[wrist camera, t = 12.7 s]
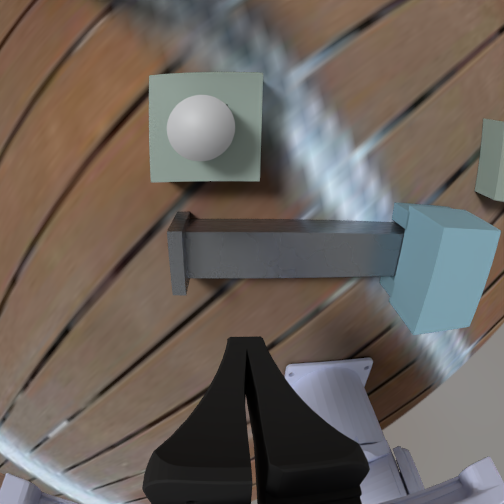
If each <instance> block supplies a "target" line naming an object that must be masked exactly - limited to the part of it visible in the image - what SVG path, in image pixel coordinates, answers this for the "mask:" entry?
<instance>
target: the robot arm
mask: <svg viewBox="0 0 504 504" xmlns="http://www.w3.org/2000/svg"><path fill="white" fill-rule="evenodd" d="M372 364H373V360H372V358H369V357H368V358H359V359H349V360H339V361H327V362H314V363H298V364H289V365H288V366H287V367H286V370H285V377H284V376H283V375H282V373H281V372H280V370H279V368H278V367H277V365H276V364H275V362H274V360H273V359H272V357H271V355H270V353H269V351H268V349H267V347H266V345H265V343H264V340H263V338H262V337H230V338H228V339H227V346H226V350H225V353H224V356H223V359H222V361H221V364H220V366H219V369H218V371H217V373H216V375H215V377H214V379H213V381H212V383H211V385H210V387H209V388H208V390H207V392H206V393H205V395H204V397H203V398H202V400H201V401H200V403H199V404H198V405H197V407H196V408H195V409H194V411H193V412H192V413H191V415H190V416H189V417H188V418H187V420H186V421H185V422H184V423H183V424H182V425H181V426H180V427H179V428H178V429H177V430H176V431H175V433H174V434H173V435H172V436H171V437H169V438H168V439H167V440H166V441H165V442H164V443H163V444H162V445H160V446H159V447H158V448H157V449H156V450H155V451H154V452H153V454H152V456H151V458H150V460H149V462H148V465H147V468H146V471H145V474H144V481H143V487H142V489H143V492H144V493H145V495H146V496H147V498H148V499H149V501H150V502H151V504H251V495H252V471H251V461H250V453H249V444H248V434H247V423H246V411H245V397H246V398H247V404H248V411H249V417H250V422H251V428H252V434H253V441H254V453H255V469H256V485H257V503H258V504H503V503H504V482H503V480H502V479H501V476H500V474H499V472H498V471H497V469H496V467H495V465H494V463H493V461H492V459H491V458H490V456H487V457H485V458H484V459H481V460H479V461H477V462H475V463H473V464H471V465H469V466H468V467H466V468H465V469H464V470H463V471H462V472H461V473H460V474H459V476H457V477H455V478H452V479H450V480H447V481H445V482H442V483H440V484H437V485H435V486H432V487H429V488H427V489H424V486H423V483H422V481H421V478H420V475H419V473H418V470H417V468H416V466H415V463H414V461H413V459H412V456H411V454H410V452H409V450H407V449H405V448H401V447H400V446H397V447H396V448H394V449H393V451H394V454H395V456H396V459H397V460H396V461H397V464H398V466H397V464H396V461H395V459H394V456H393V454H392V452H391V449H390V447H389V445H388V443H387V440H385V437H384V435H383V432H382V430H381V427H380V425H379V422H378V420H377V417H376V415H375V412H374V410H373V408H372V405H371V403H370V400H369V398H368V396H367V393H366V391H365V388H364V387H365V384H366V381H367V378H368V376H369V373H370V370H371V367H372ZM290 373H291V374H290ZM398 467H399V469H398ZM399 470H400V472H399ZM0 504H80V503H76V502H72V501H69V500H66V499H62V498H59V497H56V496H53V495H50V494H47V493H44V492H42V491H41V490H40V489H39V488H38V487H37V486H36V485H35V484H33V483H31V482H30V481H27V480H25V479H22V478H20V477H17V476H15V475H12V474H10V473H6V475H5V478H4V481H3V483H2V486H1V489H0Z"/></svg>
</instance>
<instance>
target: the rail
mask: <svg viewBox="0 0 504 504" xmlns="http://www.w3.org/2000/svg"><path fill="white" fill-rule="evenodd" d="M404 233H405V229H404V228H403V227H402V226H400V225H399V224H398V223H396V222H370V221H337V220H290V219H190V212H177V214H176V215H175V217H174V219H173V221H172V223H171V225H170V227H169V229H168V231H167V237H168V249H169V261H170V272H171V282H172V292H173V295H186V294H187V289H188V285H189V280H190V278H316V277H362V276H395V275H396V271H397V266H398V262H399V257H400V253H401V248H402V243H403V238H404Z"/></svg>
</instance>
